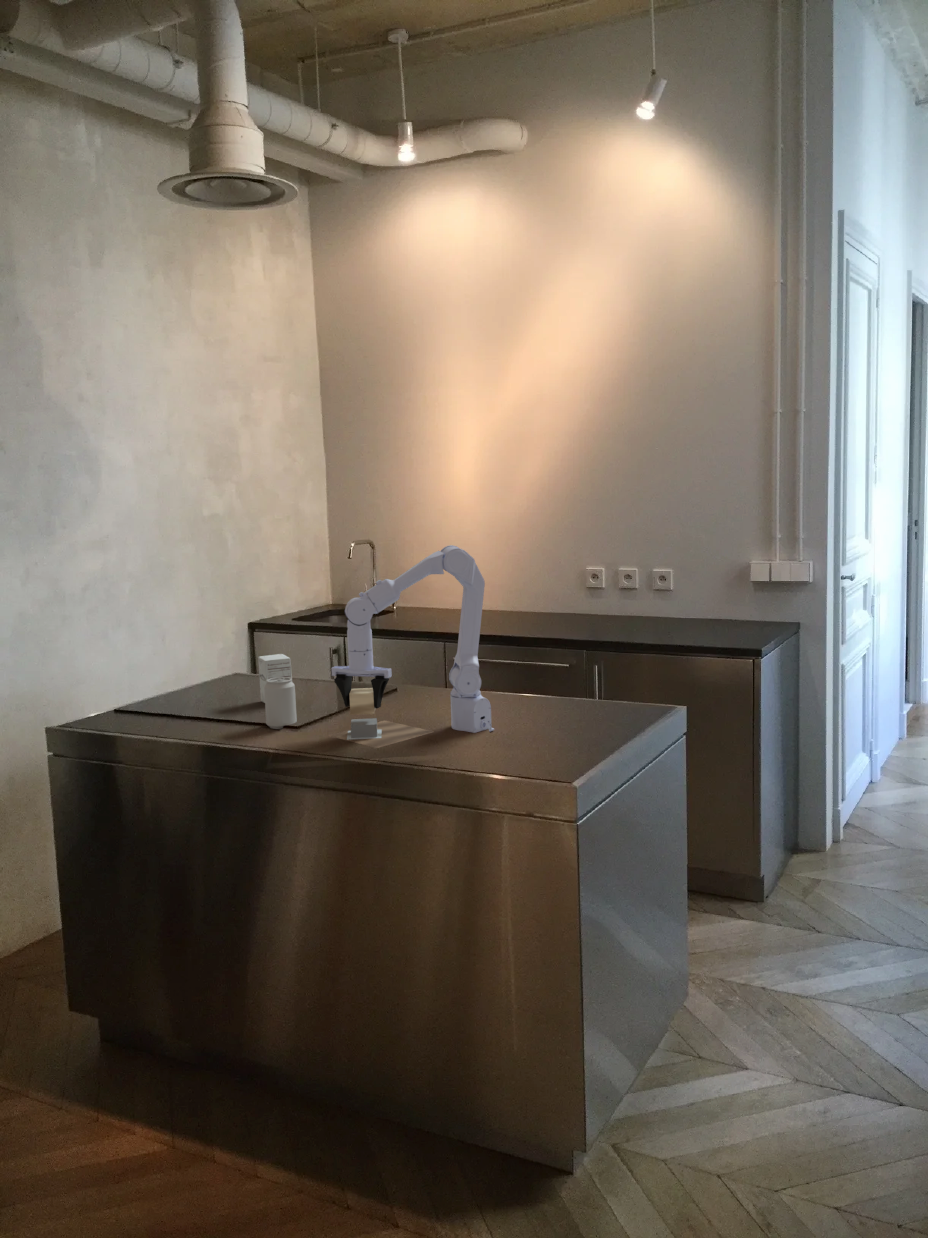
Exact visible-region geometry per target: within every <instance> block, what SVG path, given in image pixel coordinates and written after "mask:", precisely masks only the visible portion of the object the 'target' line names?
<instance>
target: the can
mask: <svg viewBox="0 0 928 1238" xmlns="http://www.w3.org/2000/svg"><path fill="white" fill-rule="evenodd" d="M291 680H292V681H291ZM264 694H265V703H264V708H265V725H267V726H268V727H269V728H270V729H274V730H282V729H283V728H284V727H285V726H288V725H294V724H296V723H297V722H298V721H297V720H298V718H297V717H298V716H297V702H296V701H297V700H296V698H297V697H296V685H295V683H294V682H293V678H292V679H291V678H289V677H276V678H270V679H268V680H267V684H266V685H265V686H264Z"/></svg>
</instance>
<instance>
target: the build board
mask: <svg viewBox="0 0 928 1238" xmlns="http://www.w3.org/2000/svg"><path fill="white" fill-rule="evenodd" d="M432 733H435V731H433V730H429V729H424V728H420V727H417V726H413V725H412V726H411V725H407V724H402V723H397V722H395V721H389V720H380V721H377V737H366V738H351V728H350V729H346V730H341V731H339V732H335V733H331V734H328V735H327V736H329V737H331V738H336V739H340V740H343V741H348V742H352V743H356V744H359V745H363V746H368V747H371V748H375V749H379V748H383V747H386V746H390V745H392V744H393V745H394V744H396V743H399V742H404V741H408V740H410V739H414V738H418V737H422V736H425V735H430V734H432Z"/></svg>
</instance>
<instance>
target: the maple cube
mask: <svg viewBox="0 0 928 1238" xmlns="http://www.w3.org/2000/svg"><path fill="white" fill-rule="evenodd" d="M349 696H350V706H349V713H350V714H349V715H350V716H356V715H360V716H361V715H362V716H363V715H375V712H376V710H377V708H375V707H374V693H373V688H372V687H365V688H363V687H362V688H351V691H350V694H349Z"/></svg>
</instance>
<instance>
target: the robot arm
mask: <svg viewBox="0 0 928 1238" xmlns="http://www.w3.org/2000/svg"><path fill="white" fill-rule="evenodd" d="M445 572H446V573H448V574H449V575H452V576H453V577H454V578H455V579H456V580H457V582H458V583H459V584H460V585H461V587H462V588H463V589H462V599H461V607H460V609H461V610H460V618H459V619H460V620H459V629H458V631H459V632H458V640H457V650H456V654H455V656H454V659H453V660H454V661H453V665H452V667H451V669H450V670H449V674H448V679H449V680H448V681H449V682H450V685H452V690H451V691H450V692H449V693H450V697H449V698H450V720H451V721H450V722H451V729H453V730H455V731H460V732H461V731H464V732H469V733H473V734H476V733H479V732H482V731H486V730H488V732H490V733H491V732H492V731H493V732H494V731H495V728H494V727H492V706H491V702H490V700H489V699H488V698H486V697H484V696H483V695H482V692H481V690H480V689H481V687H482V678H481V676H480V672H479V670H480V664H479V658H478V657H479V656H478V655H479V654H478V653H479V645H480V644H479V643H480V636H481V625H482V617H483V616H482V615H483V606H484V593H485V584H486V583H485V578H484V577H483V574H482V573H481V570H480V569H479V567H478V565H477V563H476V560H475V558H474V557H473V556H472V555H470V554H469V552H467V550H465V549H462V548H460V547H458V546H457V545H451V544H450V545H446V546H444V547H443V548H442V549H441V550H437V551H434V552H432V553H431V554H429V555H428V556H426V557H425V558H423V559H422V560H420V561H419V562H418V563H416V564H414V565H413V566H412V567H411V568H408V569H407V570H406V571H405V572H403V573H402V574H400V575H399V576H398V577H396V578H395V579H389V578H385V579H383V580H381V579H379V580H377V581H375V584H376V585H374V586H372V587H371V588H369V589H368V590H365V592H363V591H361V592H359V593H358V596H359V597H353V598H350V599H349V600H348V601H347V603H346V605H345V609H344V615H345V617H346V618H347V622H346V627H347V630H346V635H347V657H348V660H347V661H348V665H347V666H346V665H342V666H341V665H335V666H332V667H331V677H335V678H333V681H334V684H335V685H336V687H337V688H338V690H339V692H340V694H341V697H342V700H343V703H344V707H346V708H348V707H349V708H350V696H349V694H350V691H351V689H352V683H353V677H363V678H364V677H367V678H373V679H371V680H370V683H371V688H373V693H374V707H375V708H376V709H380V708H382V702H383V701H382V700H383V696H384V693H385V690H386V688H387V685H388V683H389V680H390V678H392V677H393V676H392V675H393V674H392V668H390V667H389V668H387V667H380V666H379V667H378V666H375V665H374V652H373V651H374V650H373V633H372V632H373V630H372V628H371V620H372V618H373V615H374V614H375V615H376V614H377V615H378V614H379V613H380V612H382V611H383V610H385V609H386V608H388V607H390V606H391V605H393V604H395V603H396V602H397V601H399V600H400V596H401V593H402V592H403V591H404V590H406V589H408V588H410V587H411V586H413V585H415V584H416V583H419V582H420V581H422V580H423V579H425V578H427V577H428V576H430V575H444V574H445Z"/></svg>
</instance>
